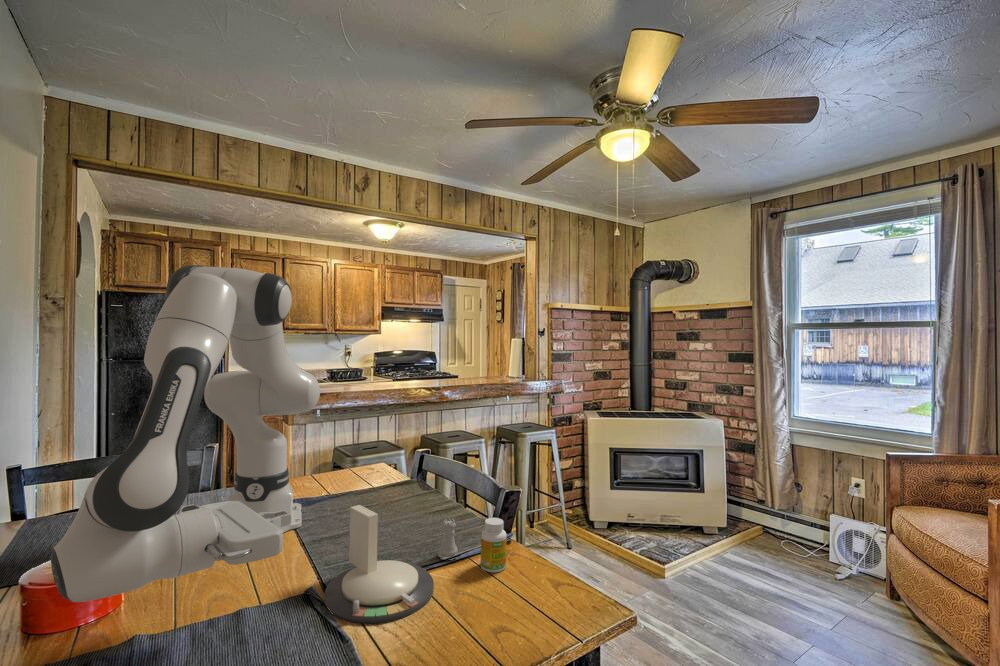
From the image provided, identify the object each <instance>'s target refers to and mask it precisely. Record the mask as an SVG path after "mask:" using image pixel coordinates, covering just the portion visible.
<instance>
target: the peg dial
mask: <svg viewBox="0 0 1000 666" xmlns="http://www.w3.org/2000/svg"><path fill="white" fill-rule="evenodd" d="M349 513H350V514H349V543H348V544H349V546H348V547H349V550H348V553H349V554H348V562H349V563H351V564H352V565H354V567H356V568H354V567H353V568H354V569H352V570H351V571H349V572H348V573H347V574H346V575H345V576H344V578H343V580H342V593H343V595H344V597H345V598H347V599H348V600H350V601H352V602H353V601H355V600H359V604H361V605H384V604H389V603H393V602H396V601H399V600H401V599H403V600H404V601H406V602H407V603H409V604H410V605H412V604H414V601H415V600H414V599H413V598H411V597H410V596H408V595H410V594H411V593H412V592H413V591H414V590H415V589H416V587H417V585H418V572H417V570H416V569H415V568H414V567H413V566H411V565H409V564H407V563H408V562H406V563H404V562H405V561H400V560H393V559H392V560H390V559H389V560H388V559H386V560H378V532H379V528H378V527H379V514H378V513H377V512H374V511H373V510H370V509H368V508H367V507H365V506H363V505H361V504H357V505H353V506H350V509H349Z"/></svg>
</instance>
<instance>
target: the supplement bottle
mask: <svg viewBox="0 0 1000 666" xmlns="http://www.w3.org/2000/svg"><path fill="white" fill-rule="evenodd" d="M504 525H505V524H504V520H503V519H501V518H499V517H489V518H486V519H485V520H484V529H483V531H482V532H481V537H480V568H481V570H483V571H485V572H487V573H499V572H502V571H503V570H505V569H506V566H507V539H508V538H507V532H506V531H505V530H504Z"/></svg>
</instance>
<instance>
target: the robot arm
mask: <svg viewBox="0 0 1000 666" xmlns="http://www.w3.org/2000/svg"><path fill="white" fill-rule="evenodd" d="M165 290H166V291H165V296H166V300H165V301H164V304H163V305H162V307H161V309H160V311H159V312H158V315H157V316H156V318H155V321H154V322H153V325H152V327H151V330H150V333H149V335H148V338H147V342H146V345H145V350H144V357H143V362H144V363H143V364H144V366H145V367H146V369H147V371H148V372H149V373H150V374H151V377H152V387H151V391H150V394H149V398H148V400H147V402H146V405H145V408H144V411H143V413H142V415H141V417H140V420H139V422H138V426H137V428H136V430H135V433H134V436H133V439H132V440H131V441H130V443H129V444H128V446H127V448H126V449H125V450H124V451H123V452H122V453H121V454H120V455H119V456H117V458H115V460H114V461H113V462H111V463H110V464H109V465H108V466H106V467H105V468H103V469H102V470H101V471H100V472H98V473H97V474H96V475H95V476H94V477H93V479H92V480H91V481H90V482H89V484H88V486H87V488H86V490H85V492H84V495H83V498H82V501H81V504H80V507H79V509H78V511H77V513H76V515H75V517H74V519H73V521H71V524H70V525H69V528H68V529H67V531H66V532H65V534H63V536H62V538H61V539H60V541H58V542H57V543H56V545H55V546H54V547H53V548H52V551H51V552H50V564H51V566H50V567H51V572H52V577H53V581H54V584H55V586H56V589H57V591H58V593H59V595H60V596H61V597H63V598H64V599H65V600H67V601H70V602H72V603H82V602H84V603H85V602H90V601H95V600H100V599H104V598H109V597H113V596H117V595H121V594H124V593H127V592H132V591H134V590H135V591H136V590H138V589H140V588H143V587H145V586H147V585H148V584H150V583H152V582H155V581H158V580H168V579H176V578H178V577H182V576H186V575H188V574H192V573H195V572H199V571H202V570H205V569H209V568H210V569H211V568H212V567H213V566H214V565H215V563H216V561H217V562H220V561H223V562H225V563H226V564H228V565H233V566H235V565H243V564H249V563H252V562H257V561H260V560H264V559H267V558H272V557H275V556H277V555H278V554H280V553H281V552H282V550H283V543H284V533H285V532H288V531H290V530H294V529H297V528H301V526H302V525H303V523H302V522H303V521H302V519H303V517H302V516H303V515H302V514H303V513H302V512H301V509H302V503H299V502H294V488H292V486H291V484H290V483H289V482H290V472H289V469H290V468H289V464H288V440H287V438H286V435H284V434H283V433H282V432H281V431H279V430H277V429H275V428H272V427H270V426H268V424H267V423H265V421H264V420H263V416H292V415H297V414H303V413H307V412H311V411H312V410H313V409H315V407H316V405H317V404H318V402H319V400H320V398H321V397H320V396H321V388H320V387H321V386H320V384H319V381H318V380H317V378H316V377H315V376H314V375H313V374H312V373H310V372H308V371H306V370H304V369H303V368H301V367H300V366H299V365H298V364H297V363H296V362H295V361H294V360H293V359H292V358H291V356H290V354H289V352H288V350H287V346H286V342H285V335H284V329H283V327H284V326H283V322H284V321H285V320H286V319H287V318H288V316H289V313H290V310H291V307H292V303H293V298H292V288H291V286H290V284H289V282H287V280H286V279H285V278H284V277H282V276H280V275H277V274H273V273H272V272H271V273H270V272H266V273H264V272H259V271H256V270H251V269H244V268H239V267H222V266H203V265H200V264H192V265H191V264H190V265H184V266H181V267H179V268H178V269H176V270H175V271H174V272H173V273H172V274H171V275H170V276H169V278H168V281H167V283H166V289H165ZM228 343H230V350H231V357H232V359H233V360H234V361H235V362H236V364H237V365H238V366H239V367H241V368H243V369H244V370H233V371H232V370H231V371H226V372H221V373H217V374H215V372H216V370H217V369H218V367H219V365H220V363H221V361H222V358H223V356H224V354H225V352H226V349H227V347H228ZM203 396H204V403H205V404H206V406H207V408H208V410H209V411H210V412H211V413H213V414H214V415H216V416H218V417H219V418H220V419H222V420H223V422H224V423H225V424H226V425H227V426H228V427H229V429H230V431H231V433H232V435H233V437H234V440H235V445H236V446H235V447H236V449H235V450H236V473H235V474H234V479H233V483H234V486H233V487H234V488H233V489H234V491H233V492H232V493H230V495H229V496H228V497H227V500H226V501H220V502H219V501H218V502H212V503H207V504H202V505H199V506H198V505H196V504H194V503H193V504H187V505H184V506H183V504H184V502H185V500H186V498H187V495H188V493H189V489H190V472H189V465H188V464H189V463H188V456H187V455H188V453H187V452H188V447H189V442H190V438H191V434H192V431H193V428H194V425H195V422H196V418H197V415H198V412H199V409H200V406H201V402H202V399H203ZM178 511H179V512H178ZM177 512H178V513H177ZM176 513H177V514H176Z"/></svg>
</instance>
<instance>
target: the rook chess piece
mask: <svg viewBox="0 0 1000 666" xmlns="http://www.w3.org/2000/svg"><path fill="white" fill-rule="evenodd" d="M456 526H457V524H456V522H455V519H454V518H452V519H451V518H448V519H447V518H444V520H443V521H442V523H441V528H442V531H441V532H442V541H441V544H440V547H439V548H438V550H437V551H438V553H439V554H440V555H441V556H444V557H452V556H454V555H455V554H456V553H458V550H459V549H458V547H457V544H456V543H455V532H456V531H455V527H456Z"/></svg>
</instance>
